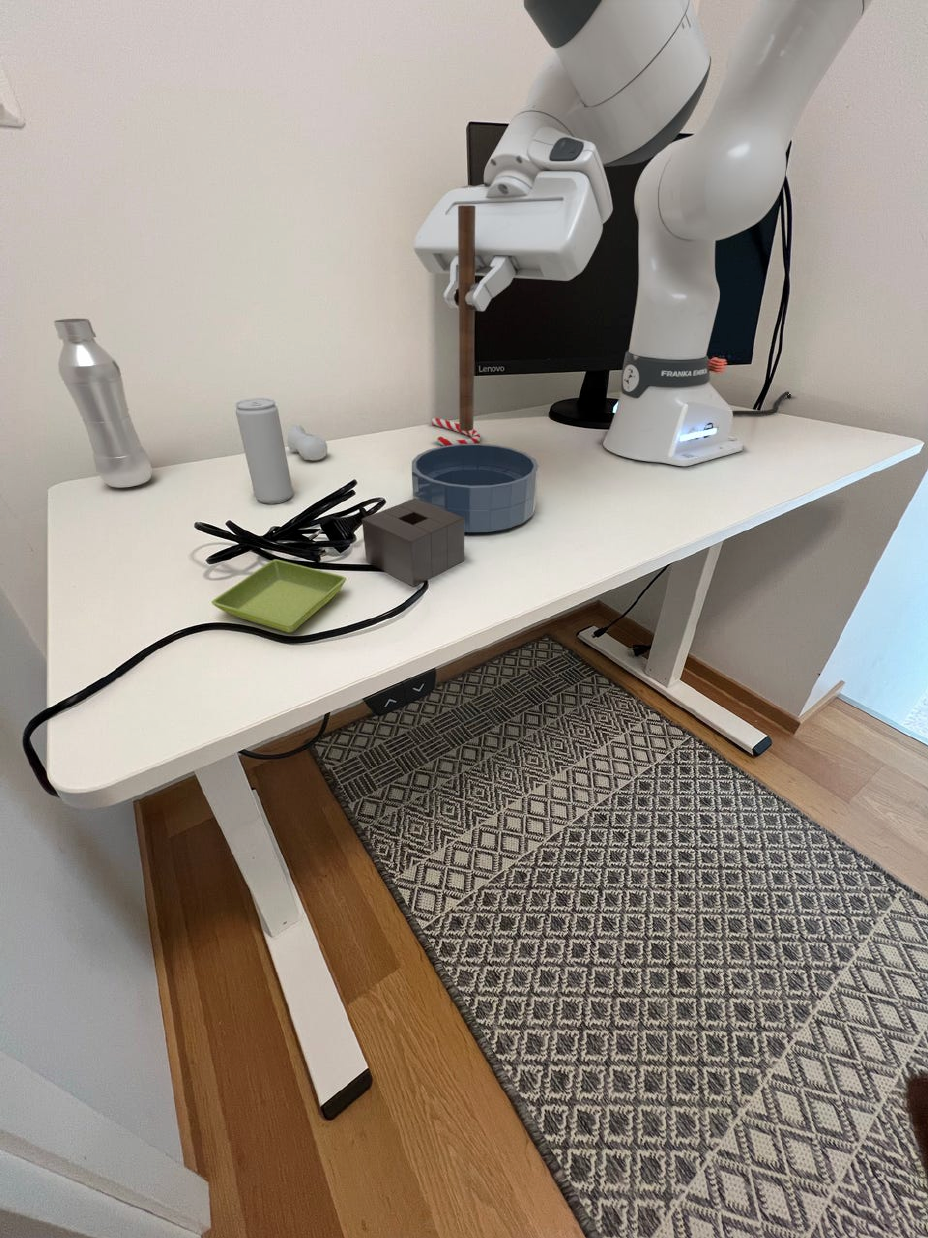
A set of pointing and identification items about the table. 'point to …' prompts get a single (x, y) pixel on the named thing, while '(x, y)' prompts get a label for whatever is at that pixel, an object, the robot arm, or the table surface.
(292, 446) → the smooth white sculpture
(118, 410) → the plastic bottle
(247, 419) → the beverage can
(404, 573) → the holder
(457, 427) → the candy cane
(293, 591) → the saucer
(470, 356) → the stick
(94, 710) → the table surface
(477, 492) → the bowl
